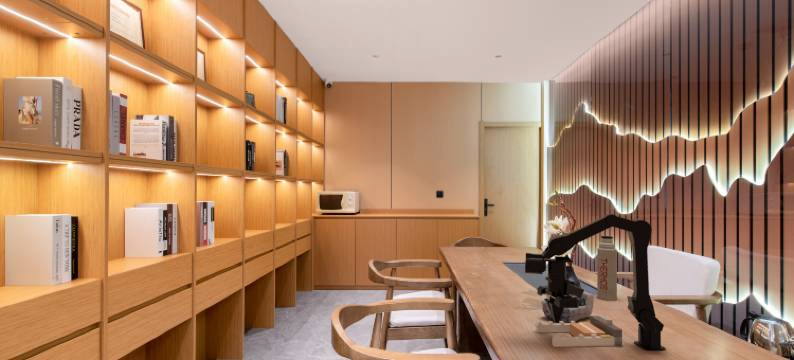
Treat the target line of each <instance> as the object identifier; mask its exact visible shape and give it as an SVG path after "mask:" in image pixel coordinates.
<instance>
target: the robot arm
mask: <svg viewBox="0 0 794 360" xmlns="http://www.w3.org/2000/svg"><path fill="white" fill-rule="evenodd" d="M610 228H615V229H619V230H622V231H623V230H624V231H626V233H627V237H628V240H629V243H630V246H631V251H632V252H631V254H632V255H631V257H632V275H633V276H632V277H633V278H632V279H633V291H632V292H633V293H632V296H630V295H627V297H626V299H627V302H628V303H627V304H628V305H627V310H629V312H630V314H631V316H632V317H634V318H635V320H636V322H637V323H638V325H637V326H638V328H637V336H638V337H637V341H636V340H634V341H633V344H635V345H636V346H639V347H640V348H642V349H644V350H645V351H661V350H663V351H664V350H665V351H666V350H667V348H666V347H665V346H663V345H662V332H663V329H664V327H665V325H664V323H663V322H661V320H659V318H657V317H656V312H655V307H654V303H653V300H652V297H651V295H650V281H649V261H648V259H649V258H648V257H649V255H648V253H649V252H648V248H649V244H650V242H651V240H652V239H651V237H652V232H653V229H652V225H651V224H650V222H648V221H647V220H644V219H641V218H632V219H629V218H628V219H627V218H624V217H622V216H619V215H618V216H617V215H615V214H614V213H606V214H605V215H603V216H602V217H600V218H598V219H595V220H593V221H591V222H590V223H587V224H586V225H585V224H584V225H583V226H581V227H579V228H576V229H574V230H573V231H569V232H565V233H561V234H558V235H555V236H551V237H550V238H549V239H548V241H547V245H546V248H544V250H543V251H542V252H541V253H532V252H525V261H524V274H530V275H531V274H532V275H534V274H535V275H543V273H544V272H546V271H547V276H545V280H546V281H547V285H540V286H538V287H537V289H536V290H537V291H536V292H537V293H536V294H537V295H538V296H540V297H541V296H543V295H545V298H544V299H543V301H545V302H546V304H547V306H548V308H549V310H550V313H551V315H552V317H553V319H554V320H553V323H554V324H557V323H560V322H559V320H560V318H561V315H562V312H563V309H564V308H579V301H578V300H577V299H576V298H574V297H572V296H570V294H572V295H574V296H577V297H578V298H582V295H583V292H585V289H584V288H582V287H579V286H578V285H575V284H576V283H575V282H574V281H572V280H569V279H568V278H567V263H569V264H570V263H571V264H572V263H573V259H572V258H570V257H569V255H568V254H566V253H567V252H569V251H570V250H572V249H573V248H574V247H575V246H576V245H577V244H579V243H581V242H583V241H585V240H587V239H589V238H591V237H594V236H596V235H598V234H601V232H605V231H606V230H607V229H610ZM563 255H564V256H563ZM565 295H566V296H565Z"/></svg>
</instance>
